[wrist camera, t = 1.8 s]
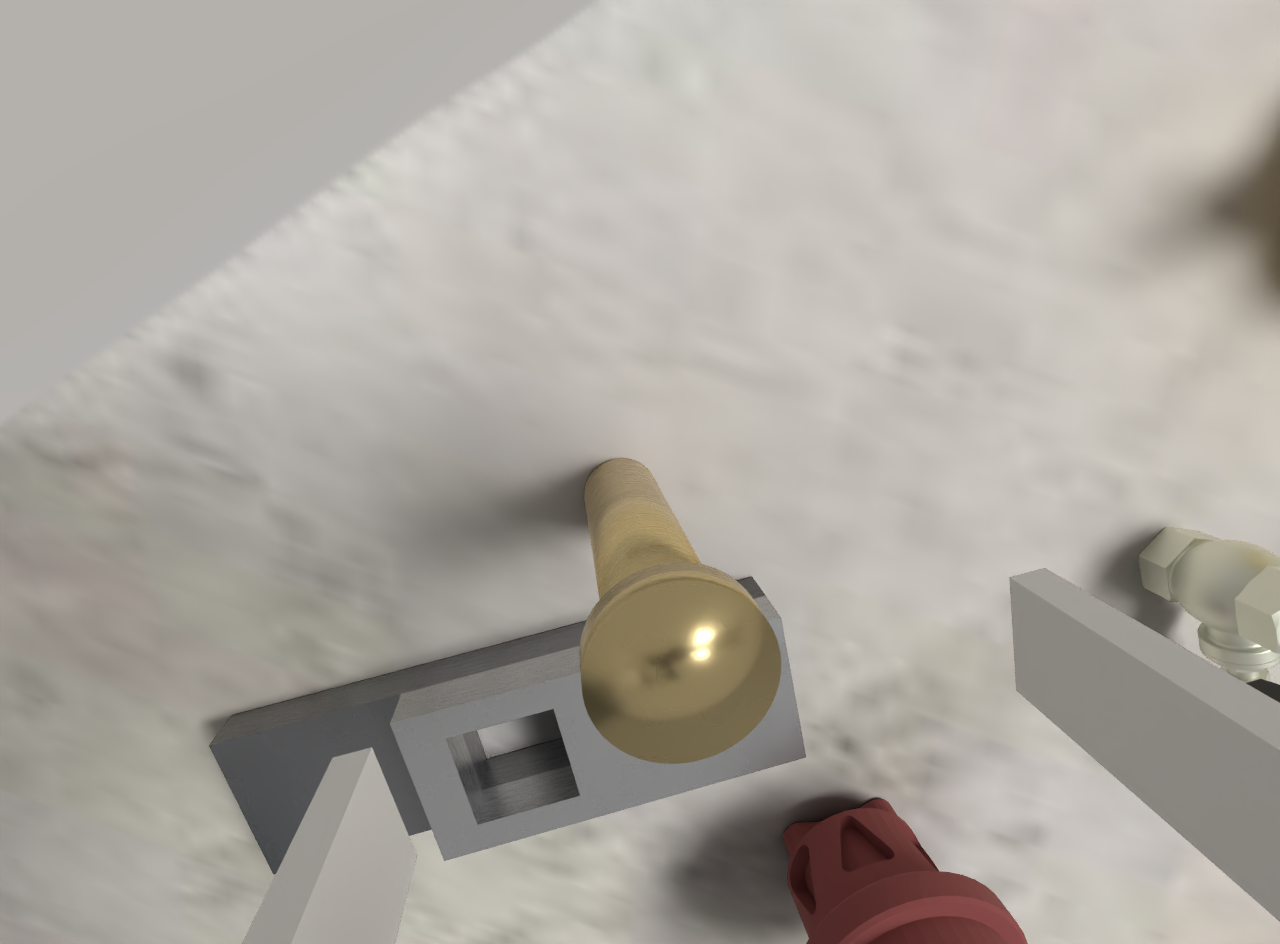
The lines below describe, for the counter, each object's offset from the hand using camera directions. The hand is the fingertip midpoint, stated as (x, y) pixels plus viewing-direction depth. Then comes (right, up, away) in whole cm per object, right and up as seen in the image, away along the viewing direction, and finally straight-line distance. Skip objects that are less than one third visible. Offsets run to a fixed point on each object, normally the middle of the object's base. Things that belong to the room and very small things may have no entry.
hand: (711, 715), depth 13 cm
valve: (+27, -3, +21) cm, 34 cm away
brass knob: (-2, +4, +15) cm, 16 cm away
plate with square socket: (-7, -6, +17) cm, 20 cm away
